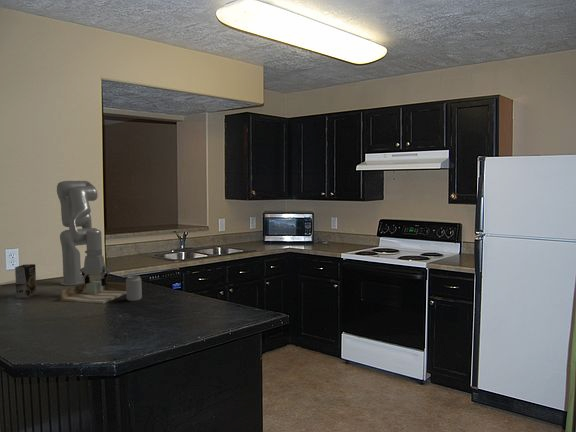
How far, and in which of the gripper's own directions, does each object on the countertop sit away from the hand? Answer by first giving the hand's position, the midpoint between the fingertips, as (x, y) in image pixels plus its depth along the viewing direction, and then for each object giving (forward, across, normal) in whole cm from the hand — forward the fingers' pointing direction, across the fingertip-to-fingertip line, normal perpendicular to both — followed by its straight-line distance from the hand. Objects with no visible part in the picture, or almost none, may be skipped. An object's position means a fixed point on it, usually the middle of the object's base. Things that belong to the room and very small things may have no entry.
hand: (95, 285), depth 269 cm
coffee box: (+5, -34, -11) cm, 36 cm away
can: (+5, +26, -7) cm, 28 cm away
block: (+3, 0, 0) cm, 3 cm away
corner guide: (+5, +4, -5) cm, 8 cm away
